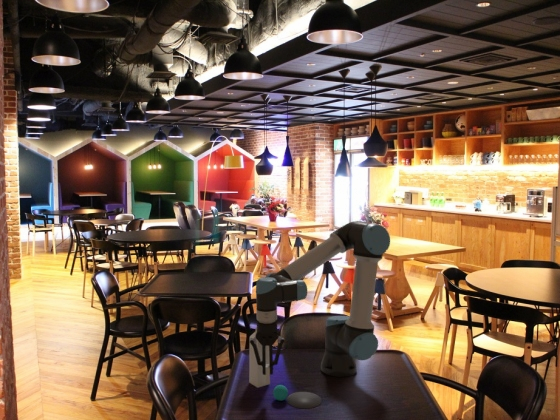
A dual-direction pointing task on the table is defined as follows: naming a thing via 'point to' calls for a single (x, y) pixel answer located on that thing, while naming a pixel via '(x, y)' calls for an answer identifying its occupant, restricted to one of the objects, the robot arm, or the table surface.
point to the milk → (255, 369)
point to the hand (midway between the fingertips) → (267, 382)
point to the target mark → (303, 400)
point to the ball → (280, 392)
